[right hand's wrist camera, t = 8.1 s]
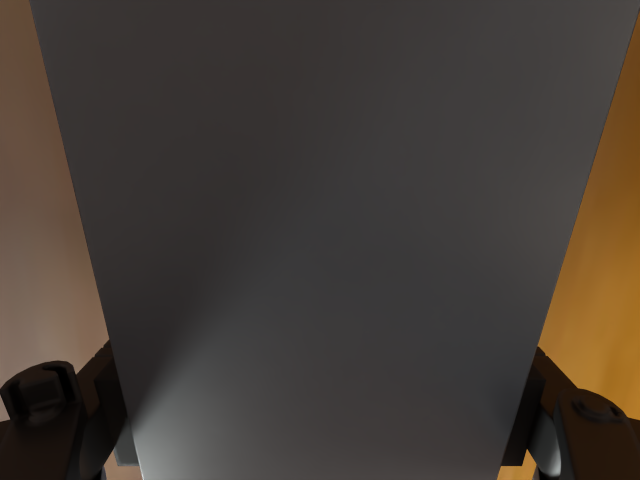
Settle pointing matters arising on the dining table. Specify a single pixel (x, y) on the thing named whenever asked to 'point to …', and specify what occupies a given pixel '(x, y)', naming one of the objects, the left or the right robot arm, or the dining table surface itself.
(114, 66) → the long gray bar
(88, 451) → the right robot arm
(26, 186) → the dining table surface
